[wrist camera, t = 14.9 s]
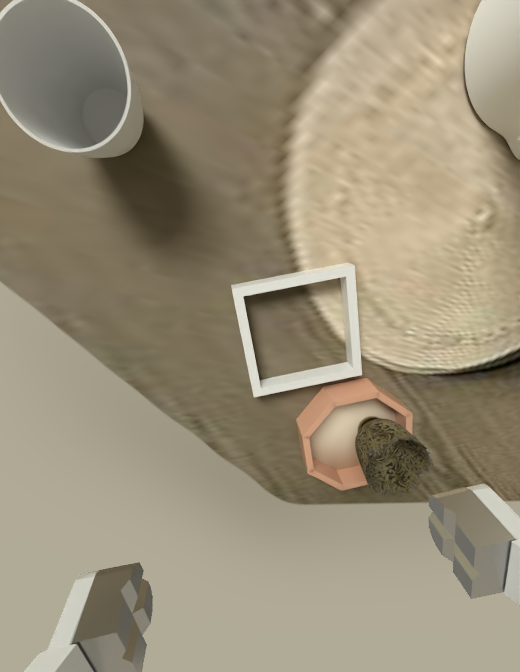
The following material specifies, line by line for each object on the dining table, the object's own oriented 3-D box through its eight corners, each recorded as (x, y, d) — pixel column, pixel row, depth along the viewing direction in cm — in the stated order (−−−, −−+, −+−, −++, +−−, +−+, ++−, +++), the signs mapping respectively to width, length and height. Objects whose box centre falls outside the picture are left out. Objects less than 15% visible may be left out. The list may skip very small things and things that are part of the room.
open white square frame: (347, 262, 36) (354, 265, 34) (355, 367, 41) (361, 374, 39) (231, 285, 36) (231, 288, 34) (252, 389, 40) (253, 397, 39)
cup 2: (374, 457, 45) (403, 505, 38) (330, 436, 43) (352, 483, 36) (407, 414, 43) (446, 456, 36) (363, 391, 41) (394, 430, 34)
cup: (111, 42, 28) (55, -46, 18) (177, 132, 30) (158, 96, 21) (42, 108, 29) (-44, 57, 19) (112, 190, 31) (66, 179, 22)
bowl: (397, 371, 42) (412, 384, 39) (399, 456, 47) (412, 474, 43) (291, 393, 41) (298, 408, 38) (305, 477, 46) (311, 497, 43)
